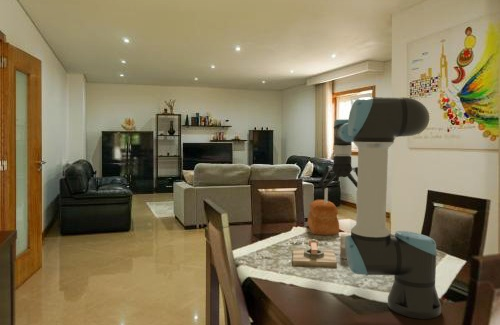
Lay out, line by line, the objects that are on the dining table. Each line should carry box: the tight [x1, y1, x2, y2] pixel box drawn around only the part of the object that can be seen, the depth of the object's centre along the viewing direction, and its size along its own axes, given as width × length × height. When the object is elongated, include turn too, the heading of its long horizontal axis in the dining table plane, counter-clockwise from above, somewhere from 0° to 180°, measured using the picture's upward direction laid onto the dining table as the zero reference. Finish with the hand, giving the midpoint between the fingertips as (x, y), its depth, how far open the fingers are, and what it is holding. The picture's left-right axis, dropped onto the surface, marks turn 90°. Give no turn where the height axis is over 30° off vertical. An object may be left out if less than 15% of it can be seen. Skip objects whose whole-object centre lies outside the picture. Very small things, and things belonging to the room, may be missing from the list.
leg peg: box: [339, 233, 351, 260], centre depth 169 cm, size 4×4×10 cm
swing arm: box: [308, 238, 319, 254], centre depth 168 cm, size 16×4×3 cm, turn 172°
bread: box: [306, 199, 340, 236], centre depth 221 cm, size 16×26×17 cm, turn 178°
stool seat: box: [292, 248, 338, 268], centre depth 166 cm, size 18×18×4 cm
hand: (341, 204), depth 165 cm, fingers open, 13 cm apart
